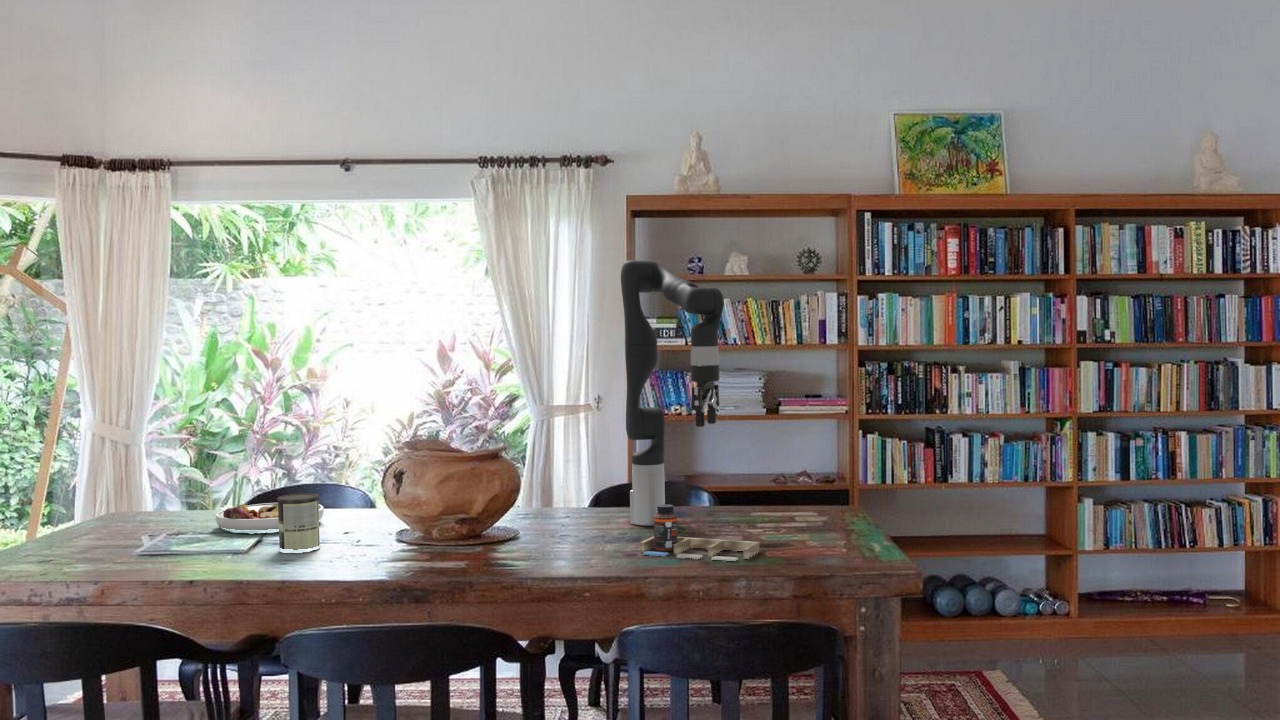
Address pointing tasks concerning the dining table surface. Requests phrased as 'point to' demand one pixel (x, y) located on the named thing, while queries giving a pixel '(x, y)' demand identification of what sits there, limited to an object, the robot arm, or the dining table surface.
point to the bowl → (252, 517)
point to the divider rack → (707, 545)
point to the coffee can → (298, 521)
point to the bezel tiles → (689, 556)
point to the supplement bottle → (665, 528)
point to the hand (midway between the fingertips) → (706, 425)
